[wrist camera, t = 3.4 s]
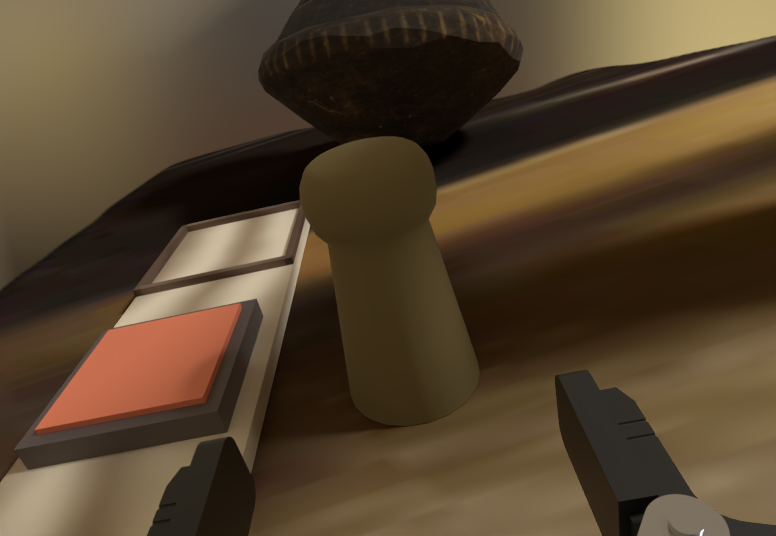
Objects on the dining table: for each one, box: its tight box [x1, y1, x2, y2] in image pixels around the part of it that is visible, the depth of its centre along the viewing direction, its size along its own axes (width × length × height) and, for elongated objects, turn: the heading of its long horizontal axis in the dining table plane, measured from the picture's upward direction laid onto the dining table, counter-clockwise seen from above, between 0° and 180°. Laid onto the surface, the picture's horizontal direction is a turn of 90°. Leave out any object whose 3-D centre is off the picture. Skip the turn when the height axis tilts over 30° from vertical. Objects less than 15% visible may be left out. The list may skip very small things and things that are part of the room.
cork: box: [299, 136, 480, 426], centre depth 23 cm, size 6×6×11 cm
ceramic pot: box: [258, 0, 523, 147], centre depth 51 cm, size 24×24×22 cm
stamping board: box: [0, 200, 310, 536], centre depth 34 cm, size 11×32×2 cm, turn 2°
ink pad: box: [14, 299, 263, 470], centre depth 27 cm, size 9×9×2 cm
